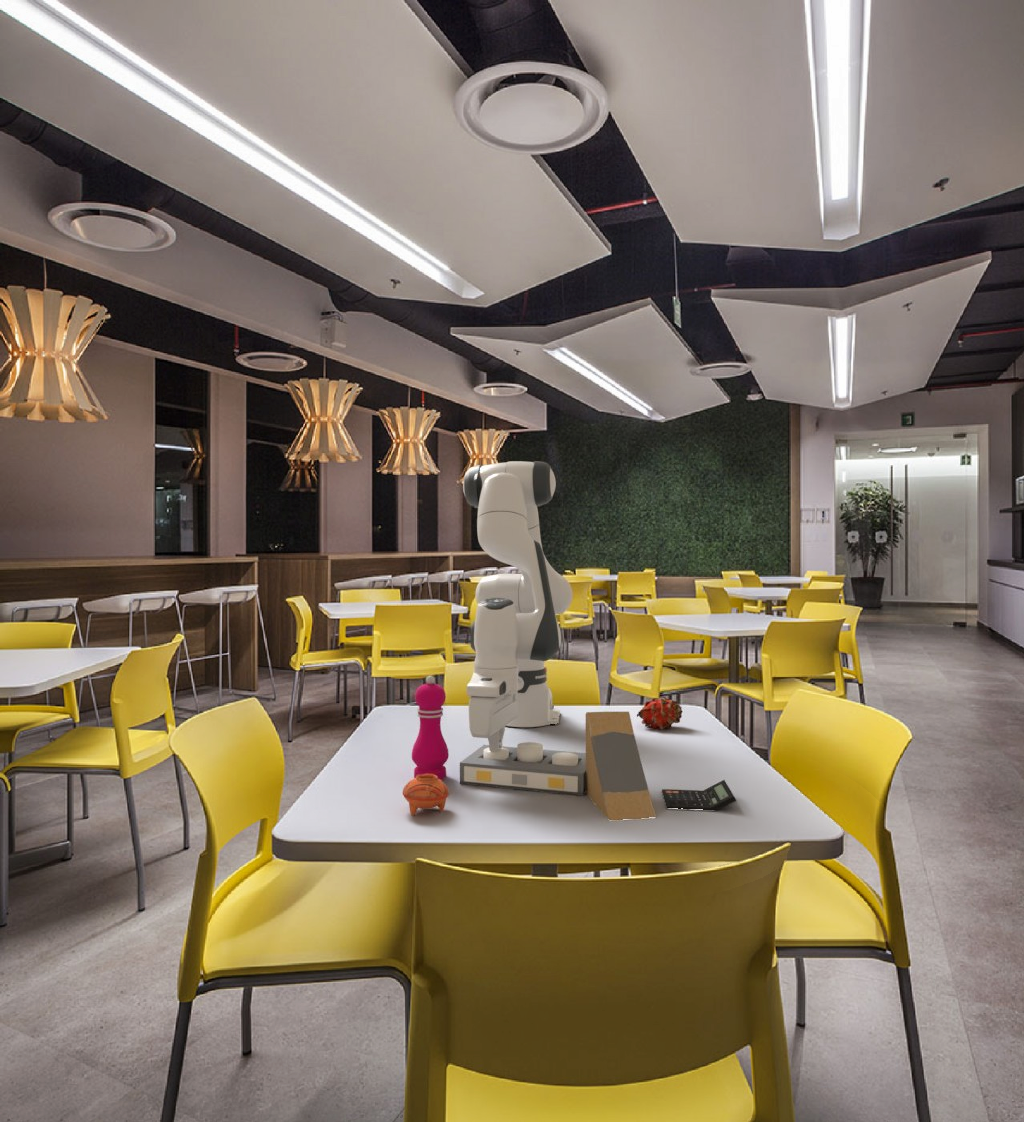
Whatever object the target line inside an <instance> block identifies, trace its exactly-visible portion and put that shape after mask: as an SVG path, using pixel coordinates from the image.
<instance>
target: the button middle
mask: <svg viewBox="0 0 1024 1122" xmlns="http://www.w3.org/2000/svg"><path fill="white" fill-rule="evenodd" d="M516 747H517V761H520V762H532V763H541V762H542V761H543V750H544V745H543V744H542V743H540V742H533V741H527V742H526V741H525V742H519V743H518V744H517V745H516Z"/></svg>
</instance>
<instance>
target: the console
mask: <svg viewBox="0 0 1024 1122" xmlns="http://www.w3.org/2000/svg"><path fill="white" fill-rule="evenodd" d="M502 747H503V748H507V749H508V750H509V757H508V758H507V759H506V760H497V759H486V758H483V756H484V749H486V748H489V744H483V745H481V746H480V747H478V748H477V749H476V750H475V751H473V752H472V753H471V754H469V755H468V756H467V757H465V758H464V759H462V761H460V762H459V784H462V785H470V786H471V785H472V786H481V787H489V788H490V787H493V788H500V787H502V789H510V788H513V790H521V789H522V791H533V792H541V791H543V792H544V793H551V792H552V793H553V794H561V795H562V794H563V795H572V796H581V795H583V796H585V794H586V752H576V751H565V750H551V749H543V761H542V762H541V763H532V762H520V761H517V746H516V747H514V746H504V745H502ZM556 753H573V754H576V755H578V765H577V766H566V765H555V764H552V755H553V754H556ZM543 792H542V793H543Z"/></svg>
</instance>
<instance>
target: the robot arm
mask: <svg viewBox="0 0 1024 1122" xmlns="http://www.w3.org/2000/svg"><path fill="white" fill-rule="evenodd" d="M556 483H557V481H556V477H555V474H554V471H553V469H552V466H551V465H549V463H548V462H545V461H539V460H538V461H537V460H535V461H521V460H519V461H517V460H516V461H515V460H514V461H507V462H496V463H492V464H491V463H490V464H486V465H483V464H478V465H474V466H471V467H469V469H468V470H466V472H465V475H464V478H463V482H462V490H463V494H464V498H465V501H466V503H467V505H469V506H471V507H472V508H475V509H477V518H476V528H477V529H476V531H477V540H478V543H479V546H480V547H481V549H482V550H483V551H484V552H485V553H486V554H487V555H488V556H489V557H491V558H492V559H494V560H496V561H498V562H501V563H503V564H506V565H510V566H511V567H514V568H516V569H517V570H518V571H519V572H520V573H498V574H491V575H487V576H486V575H485V576H483V577H482V578H480V580H479V581H478V584H477V585H476V588H475V600H476V601H475V602H476V604H477V606H476V612H475V619H474V620H473V622H472V623H471V624H470V648H471V649H472V650H473V651H474V652H475V658H474V662H473V673H472V676H471V679H470V681H469V682H468V683H467V685H466V695H467V696H469V697H470V698H469V700H468V723H469V731H470V732H469V733H470V734H471V736H472V737H473V738H478V739H479V738H480V739H487V740H488V745H489V750H490V751H491V752H498V751H499V750H500V749H501V748H502V746H503V739H504V734H505V732H506V729H505V728H506V727H512V728H513V727H515V728H535V727H543V726H551V725H550V724H555V725H558V724H559V722H560V717H559V716H561V709H559V708H554V704H553V693H552V691H551V689H550V688H549V686H548V683H547V680H548V678H547V676H548V674H547V671H548V668H547V667H546V666H545V662H547V661H549V660H550V659H552V658H553V657H554V656H556V654H557V653H558V652H559V651H560V648H561V645H562V633H561V628H560V624H559V621H558V619H557V616H556V615H560V614H564V613H566V611H567V610H568V609H569V608H570V606H571V605H572V601H573V590H572V586H571V583H570V582H569V580H568V579H566V577H564V576H563V575H561V574H560V573H558V572H557V571H556V570H555V569H554V568H553V566H551V564H550V562H549V561H548V560H547V558H546V556H545V554H544V551H543V545H542V538H541V531H540V530H541V528H540V518H539V511H538V507H541V506H543V505H546V504H549V502H550V501H552V499H553V496H554V493H555V491H556V487H557V486H556V485H557V484H556ZM557 723H558V724H557Z"/></svg>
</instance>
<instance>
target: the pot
mask: <svg viewBox="0 0 1024 1122" xmlns="http://www.w3.org/2000/svg"><path fill="white" fill-rule="evenodd" d="M402 795H403V797H404V799H405V800H406V801H407V802H408V807H409V812H410V815H411V816H412V815H413V817H415V816H416V813H417V811H418V809H421V810H427V809H429V810H430V809H433V808H436V807H438V808H439V811H440V812H439V813H441V812H443V811H444V809H445V807H446V806H445V805H446V802H447V798H448V797H449V795H450V790H449V788H448V786H447V785H446V783H444V781H443V780H440V779H438V777H437V776H436V775H434V774H424V775H417V776H416V778H413V779H411V780H409V781H408V782H407V783H406V784H405V785H404V787H403V788H402Z"/></svg>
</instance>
